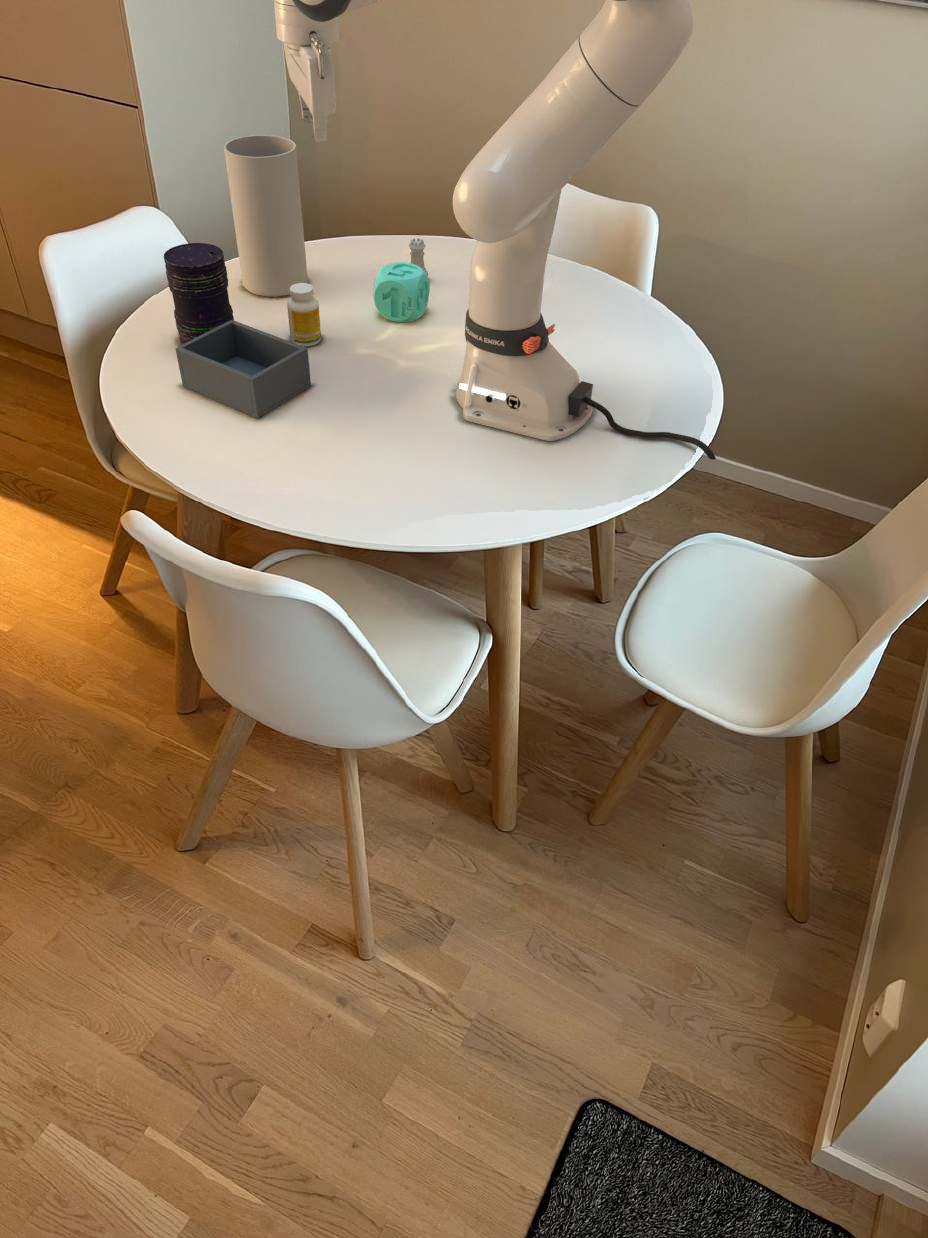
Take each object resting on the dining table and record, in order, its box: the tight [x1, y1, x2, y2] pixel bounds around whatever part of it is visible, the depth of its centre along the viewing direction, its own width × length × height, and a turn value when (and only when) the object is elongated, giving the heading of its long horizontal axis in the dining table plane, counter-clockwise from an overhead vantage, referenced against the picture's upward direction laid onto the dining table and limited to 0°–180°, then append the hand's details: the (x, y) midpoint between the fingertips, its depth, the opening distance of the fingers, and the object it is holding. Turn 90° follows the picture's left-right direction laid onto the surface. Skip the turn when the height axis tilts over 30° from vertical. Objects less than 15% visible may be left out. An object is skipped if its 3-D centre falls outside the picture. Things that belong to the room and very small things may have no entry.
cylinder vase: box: [223, 134, 309, 298], centre depth 172 cm, size 12×12×25 cm
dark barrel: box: [163, 242, 235, 345], centre depth 158 cm, size 10×10×15 cm
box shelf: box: [174, 319, 312, 419], centre depth 149 cm, size 17×13×7 cm
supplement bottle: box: [286, 282, 322, 347], centre depth 161 cm, size 5×5×10 cm
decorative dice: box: [373, 261, 431, 323], centre depth 170 cm, size 8×8×8 cm
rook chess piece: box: [408, 237, 429, 277], centre depth 180 cm, size 4×4×8 cm
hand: (314, 130), depth 141 cm, fingers open, 8 cm apart
